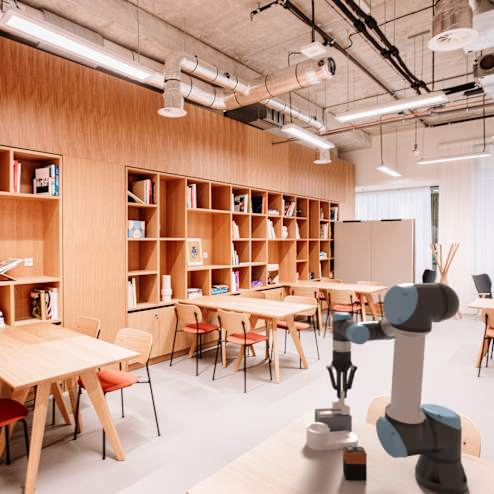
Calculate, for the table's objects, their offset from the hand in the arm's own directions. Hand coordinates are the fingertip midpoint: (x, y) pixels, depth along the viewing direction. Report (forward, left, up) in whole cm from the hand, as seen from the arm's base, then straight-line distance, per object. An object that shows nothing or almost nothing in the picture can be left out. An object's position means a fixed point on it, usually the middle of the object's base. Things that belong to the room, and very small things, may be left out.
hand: (341, 405), depth 162 cm
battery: (-35, +7, -9) cm, 36 cm away
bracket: (-13, +8, -9) cm, 18 cm away
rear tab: (0, +2, -1) cm, 2 cm away
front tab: (-5, 0, -1) cm, 5 cm away
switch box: (-3, +5, -9) cm, 10 cm away
